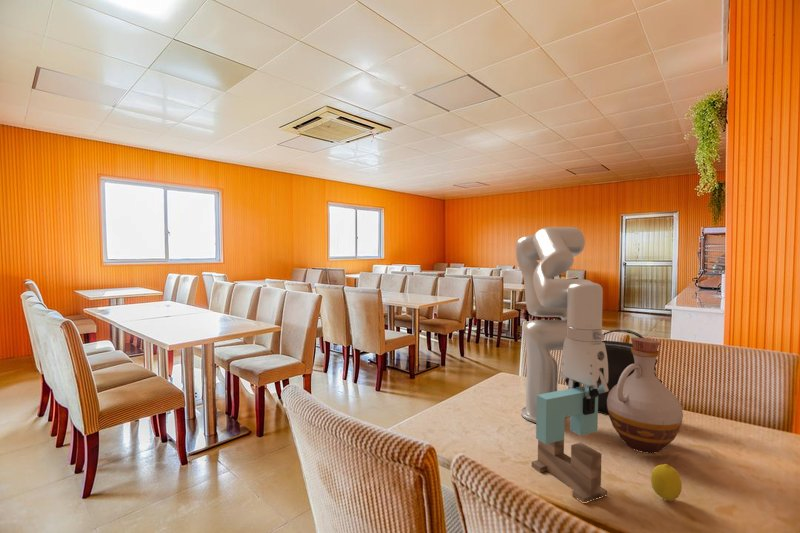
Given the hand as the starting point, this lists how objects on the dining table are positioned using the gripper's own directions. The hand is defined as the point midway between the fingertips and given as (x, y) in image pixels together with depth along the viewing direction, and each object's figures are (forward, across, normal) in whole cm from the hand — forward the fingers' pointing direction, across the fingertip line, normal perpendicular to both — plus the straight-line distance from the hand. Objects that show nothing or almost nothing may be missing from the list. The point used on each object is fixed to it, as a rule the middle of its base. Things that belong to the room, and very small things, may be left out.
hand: (582, 409), depth 94 cm
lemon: (+16, -14, -10) cm, 24 cm away
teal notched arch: (+5, 0, +5) cm, 7 cm away
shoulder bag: (+17, +22, -42) cm, 51 cm away
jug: (+16, +4, -26) cm, 31 cm away
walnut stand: (+16, 0, +4) cm, 17 cm away
